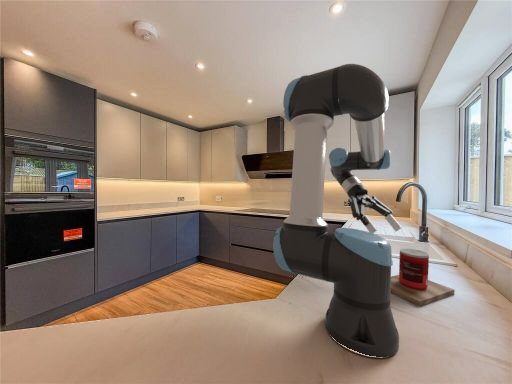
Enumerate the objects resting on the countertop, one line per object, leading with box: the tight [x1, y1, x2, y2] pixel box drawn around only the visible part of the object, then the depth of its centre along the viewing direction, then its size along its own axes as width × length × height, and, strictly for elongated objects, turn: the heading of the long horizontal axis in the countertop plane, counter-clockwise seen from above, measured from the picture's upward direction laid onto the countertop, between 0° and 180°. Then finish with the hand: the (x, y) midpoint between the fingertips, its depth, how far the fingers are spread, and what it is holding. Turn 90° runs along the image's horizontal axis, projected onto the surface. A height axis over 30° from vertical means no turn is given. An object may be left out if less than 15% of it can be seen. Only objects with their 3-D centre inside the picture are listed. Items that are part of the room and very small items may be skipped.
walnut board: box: [391, 274, 456, 307], centre depth 69 cm, size 18×14×2 cm
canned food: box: [398, 248, 430, 290], centre depth 69 cm, size 8×8×11 cm
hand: (387, 230), depth 77 cm, fingers open, 13 cm apart
